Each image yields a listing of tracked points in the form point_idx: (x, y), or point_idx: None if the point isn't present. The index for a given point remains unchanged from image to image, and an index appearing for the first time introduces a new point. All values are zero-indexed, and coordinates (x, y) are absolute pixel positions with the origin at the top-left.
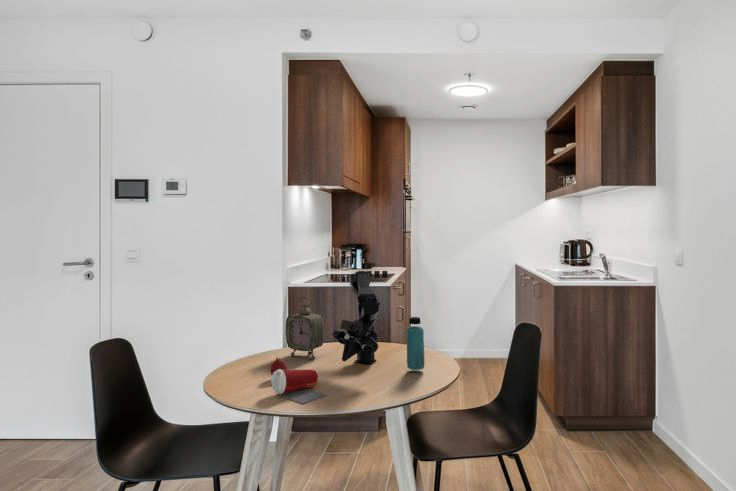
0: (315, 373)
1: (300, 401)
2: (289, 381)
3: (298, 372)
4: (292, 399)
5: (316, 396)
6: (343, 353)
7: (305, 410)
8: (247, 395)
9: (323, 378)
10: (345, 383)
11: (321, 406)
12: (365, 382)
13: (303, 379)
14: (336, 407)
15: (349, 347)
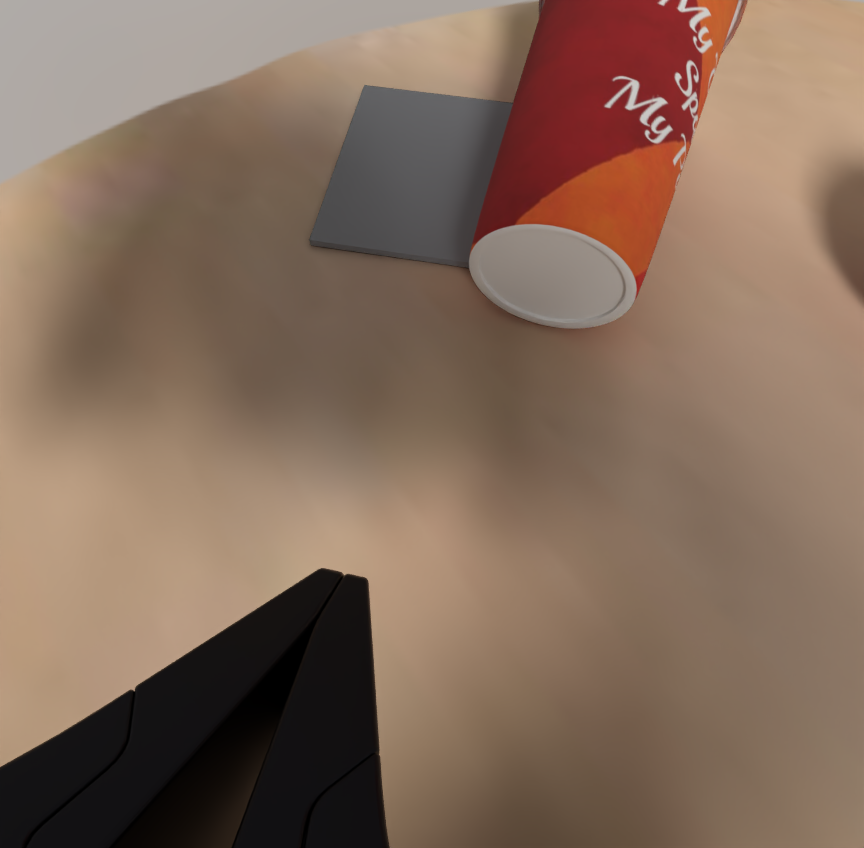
0: (501, 207)
1: (399, 97)
2: (544, 2)
3: (575, 30)
4: (467, 98)
5: (357, 183)
6: (348, 666)
7: (299, 51)
8: (772, 63)
9: (626, 562)
10: (311, 539)
11: (241, 111)
12: (103, 683)
13: (512, 108)
14: (142, 132)
15: (40, 837)
